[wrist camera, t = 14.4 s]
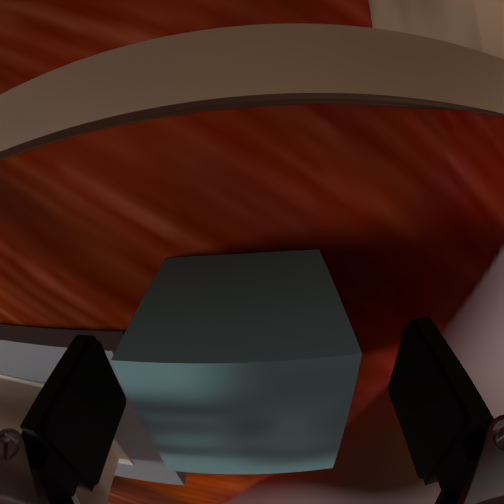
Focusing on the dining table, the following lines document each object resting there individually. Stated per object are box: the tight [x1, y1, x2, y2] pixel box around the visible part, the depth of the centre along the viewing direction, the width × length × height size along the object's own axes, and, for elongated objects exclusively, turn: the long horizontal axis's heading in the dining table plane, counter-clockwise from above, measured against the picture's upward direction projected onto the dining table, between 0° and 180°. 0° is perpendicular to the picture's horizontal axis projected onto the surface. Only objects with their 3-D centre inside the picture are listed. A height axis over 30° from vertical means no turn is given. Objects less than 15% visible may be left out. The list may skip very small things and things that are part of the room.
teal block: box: [111, 249, 362, 474], centre depth 9 cm, size 5×5×5 cm
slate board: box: [0, 324, 186, 485], centre depth 14 cm, size 12×12×1 cm
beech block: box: [0, 378, 119, 504], centre depth 10 cm, size 6×6×6 cm
